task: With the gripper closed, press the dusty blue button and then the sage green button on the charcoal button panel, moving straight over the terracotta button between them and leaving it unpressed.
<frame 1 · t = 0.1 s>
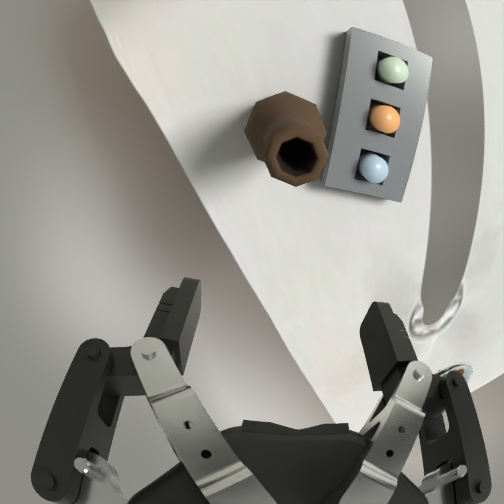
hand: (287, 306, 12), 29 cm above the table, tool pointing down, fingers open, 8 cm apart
beer bottle: (281, 120, 34), on the table
food on plate: (439, 384, 69), on the table
button panel: (375, 114, 32), on the table
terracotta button: (383, 118, 30), point 3 cm above the table, slide at 0.0 cm
blue button: (372, 167, 34), point 3 cm above the table, slide at 0.0 cm
sage button: (391, 70, 26), point 3 cm above the table, slide at 0.0 cm
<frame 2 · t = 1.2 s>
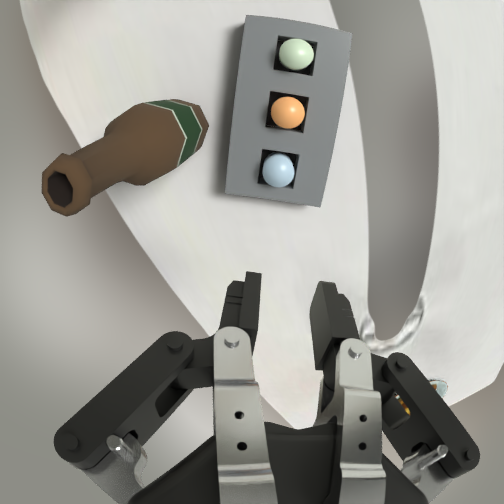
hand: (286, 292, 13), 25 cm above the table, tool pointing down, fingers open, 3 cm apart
beer bottle: (181, 127, 33), on the table
food on plate: (410, 399, 67), on the table
button panel: (286, 108, 31), on the table
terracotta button: (287, 111, 28), point 3 cm above the table, slide at 0.0 cm
blue button: (278, 169, 32), point 3 cm above the table, slide at 0.0 cm
sage button: (295, 55, 25), point 3 cm above the table, slide at 0.0 cm
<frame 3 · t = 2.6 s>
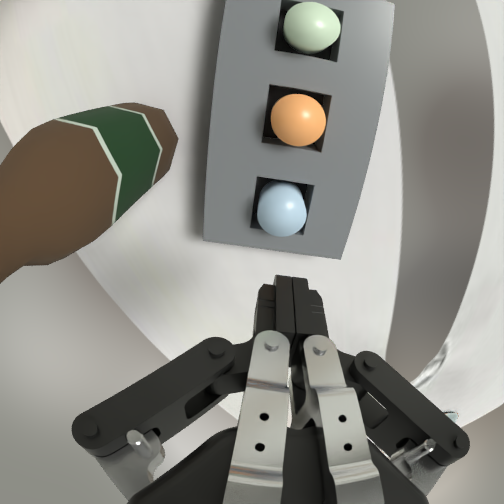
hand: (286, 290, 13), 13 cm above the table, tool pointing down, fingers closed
beer bottle: (141, 142, 22), on the table
button panel: (293, 112, 20), on the table
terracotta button: (296, 118, 18), point 3 cm above the table, slide at 0.0 cm
blue button: (281, 207, 22), point 3 cm above the table, slide at 0.0 cm
sage button: (310, 28, 14), point 3 cm above the table, slide at 0.0 cm
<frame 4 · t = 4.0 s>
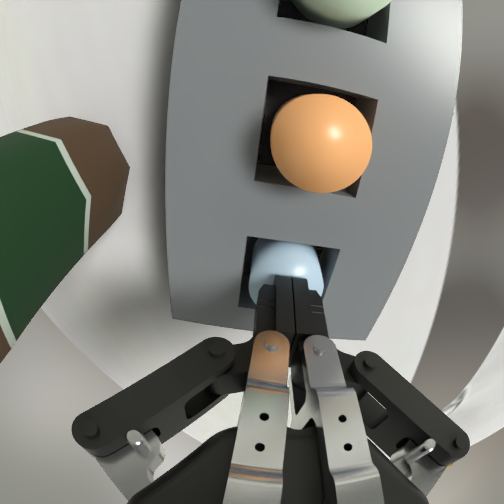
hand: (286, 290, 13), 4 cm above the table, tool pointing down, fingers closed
beer bottle: (84, 172, 15), on the table
button panel: (308, 124, 12), on the table
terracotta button: (316, 138, 10), point 3 cm above the table, slide at 0.0 cm
blue button: (285, 270, 15), point 2 cm above the table, slide at 0.8 cm, touching gripper
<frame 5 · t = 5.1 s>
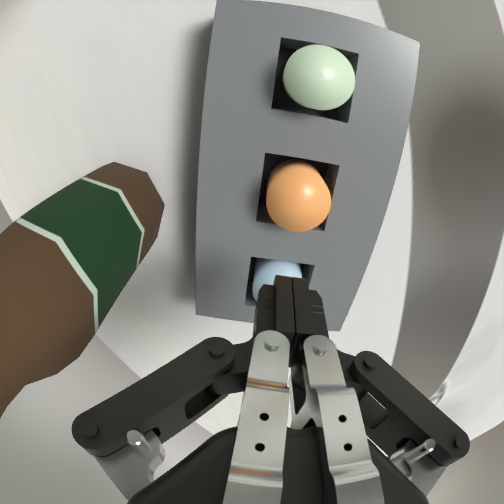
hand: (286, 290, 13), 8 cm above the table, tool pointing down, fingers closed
beer bottle: (125, 204, 21), on the table
button panel: (294, 176, 19), on the table
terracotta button: (296, 193, 16), point 3 cm above the table, slide at 0.0 cm
blue button: (277, 278, 21), point 2 cm above the table, slide at 0.9 cm
sage button: (316, 78, 13), point 3 cm above the table, slide at 0.0 cm
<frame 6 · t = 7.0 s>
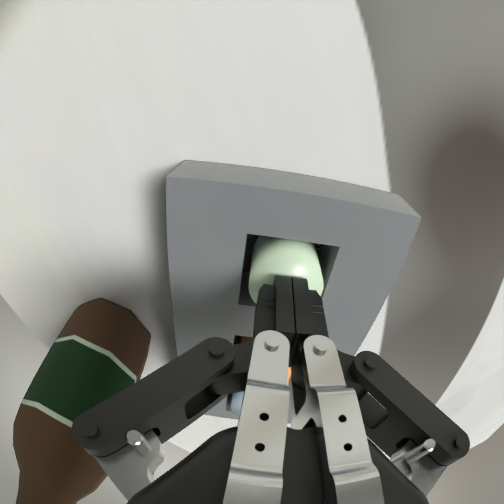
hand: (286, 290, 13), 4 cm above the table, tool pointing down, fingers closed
beer bottle: (115, 326, 22), on the table
button panel: (266, 325, 20), on the table
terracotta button: (264, 359, 18), point 3 cm above the table, slide at 0.0 cm
blue button: (252, 395, 22), point 2 cm above the table, slide at 0.9 cm
sage button: (285, 269, 15), point 2 cm above the table, slide at 0.7 cm, touching gripper
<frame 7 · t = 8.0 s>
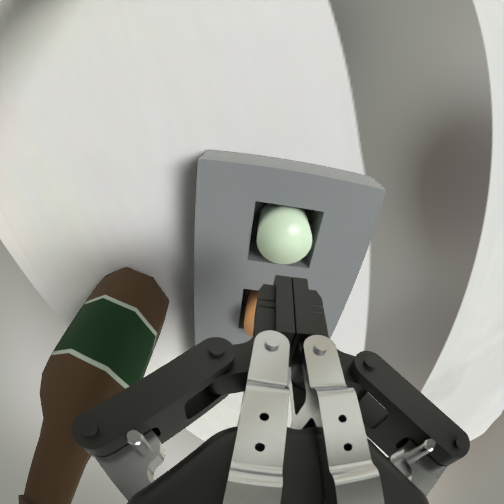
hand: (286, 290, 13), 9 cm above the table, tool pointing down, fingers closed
beer bottle: (137, 295, 27), on the table
button panel: (269, 287, 25), on the table
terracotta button: (267, 313, 22), point 3 cm above the table, slide at 0.0 cm
sage button: (283, 230, 19), point 2 cm above the table, slide at 0.9 cm
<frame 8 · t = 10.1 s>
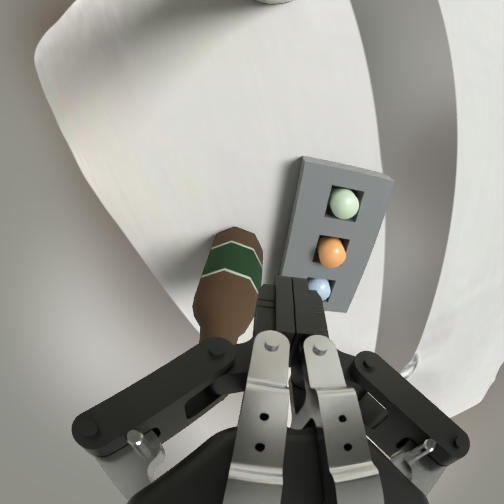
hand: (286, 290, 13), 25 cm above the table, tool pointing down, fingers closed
beer bottle: (237, 247, 42), on the table
button panel: (327, 238, 40), on the table
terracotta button: (330, 251, 37), point 3 cm above the table, slide at 0.0 cm
blue button: (317, 286, 42), point 2 cm above the table, slide at 0.9 cm
sage button: (342, 201, 34), point 2 cm above the table, slide at 0.9 cm
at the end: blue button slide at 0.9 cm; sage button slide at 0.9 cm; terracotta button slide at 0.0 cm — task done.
